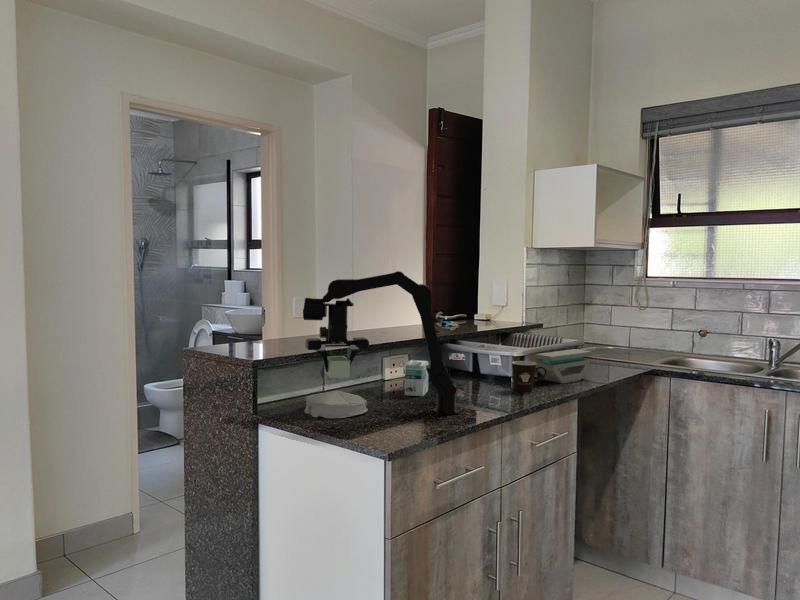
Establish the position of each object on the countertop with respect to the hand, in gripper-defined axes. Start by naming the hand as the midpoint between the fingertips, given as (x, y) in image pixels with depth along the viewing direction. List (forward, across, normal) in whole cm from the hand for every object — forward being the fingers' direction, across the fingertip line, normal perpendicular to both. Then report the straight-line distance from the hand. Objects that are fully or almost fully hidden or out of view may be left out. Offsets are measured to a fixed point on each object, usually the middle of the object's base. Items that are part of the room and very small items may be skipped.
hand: (337, 371), depth 190 cm
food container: (+13, 0, 0) cm, 13 cm away
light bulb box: (+12, -32, -18) cm, 39 cm away
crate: (+1, 0, 0) cm, 1 cm away
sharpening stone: (+12, -96, -27) cm, 100 cm away
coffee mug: (+12, -72, -12) cm, 74 cm away
